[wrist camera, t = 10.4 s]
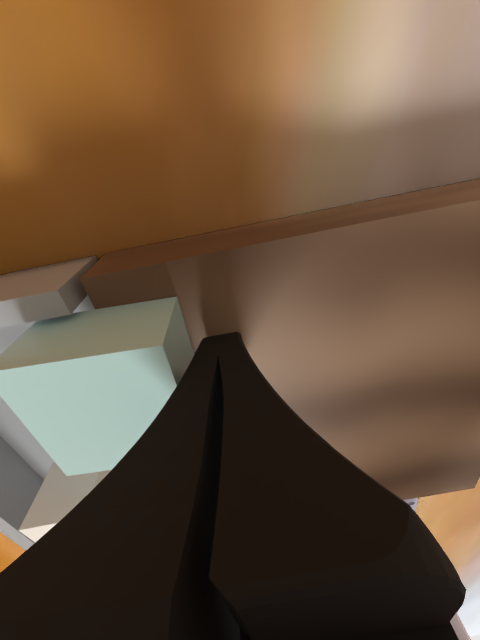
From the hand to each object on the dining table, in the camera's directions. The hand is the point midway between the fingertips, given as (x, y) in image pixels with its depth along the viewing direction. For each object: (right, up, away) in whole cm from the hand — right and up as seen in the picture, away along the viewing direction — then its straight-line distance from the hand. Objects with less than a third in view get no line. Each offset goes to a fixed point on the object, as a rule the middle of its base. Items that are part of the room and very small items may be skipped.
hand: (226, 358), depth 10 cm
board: (+5, -2, +5) cm, 7 cm away
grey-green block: (-3, 0, +1) cm, 3 cm away
